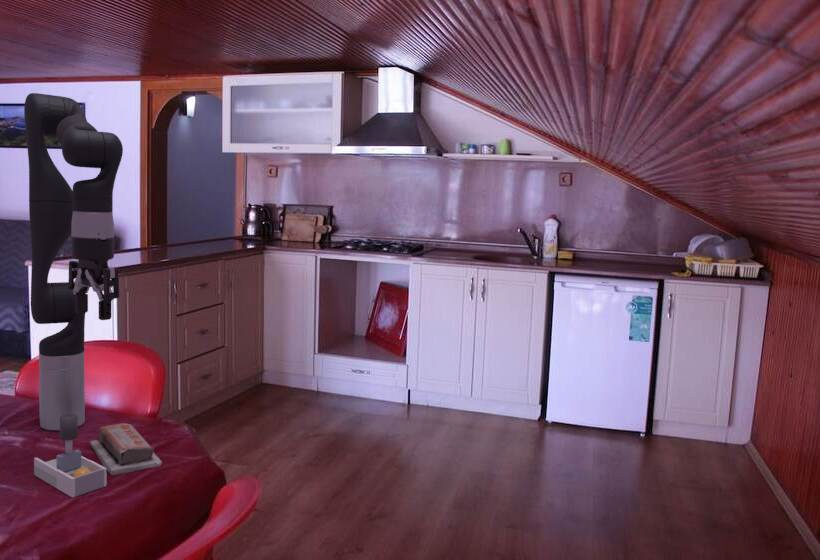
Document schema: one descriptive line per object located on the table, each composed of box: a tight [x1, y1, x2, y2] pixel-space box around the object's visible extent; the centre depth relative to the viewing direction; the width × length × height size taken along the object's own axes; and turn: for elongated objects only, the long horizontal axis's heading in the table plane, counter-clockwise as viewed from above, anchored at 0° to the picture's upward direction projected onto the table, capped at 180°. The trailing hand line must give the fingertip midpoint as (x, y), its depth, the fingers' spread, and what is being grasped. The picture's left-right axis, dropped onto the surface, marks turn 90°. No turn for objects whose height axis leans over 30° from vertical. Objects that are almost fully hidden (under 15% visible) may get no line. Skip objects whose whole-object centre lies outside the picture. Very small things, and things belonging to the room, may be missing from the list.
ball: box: [73, 468, 91, 478], centre depth 123 cm, size 4×4×4 cm
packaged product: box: [89, 422, 163, 476], centre depth 139 cm, size 18×5×10 cm
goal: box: [56, 459, 108, 499], centre depth 123 cm, size 6×6×4 cm
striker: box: [55, 414, 82, 472], centre depth 125 cm, size 3×4×10 cm
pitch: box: [33, 455, 90, 489], centre depth 127 cm, size 8×6×3 cm
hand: (93, 316), depth 131 cm, fingers open, 8 cm apart
